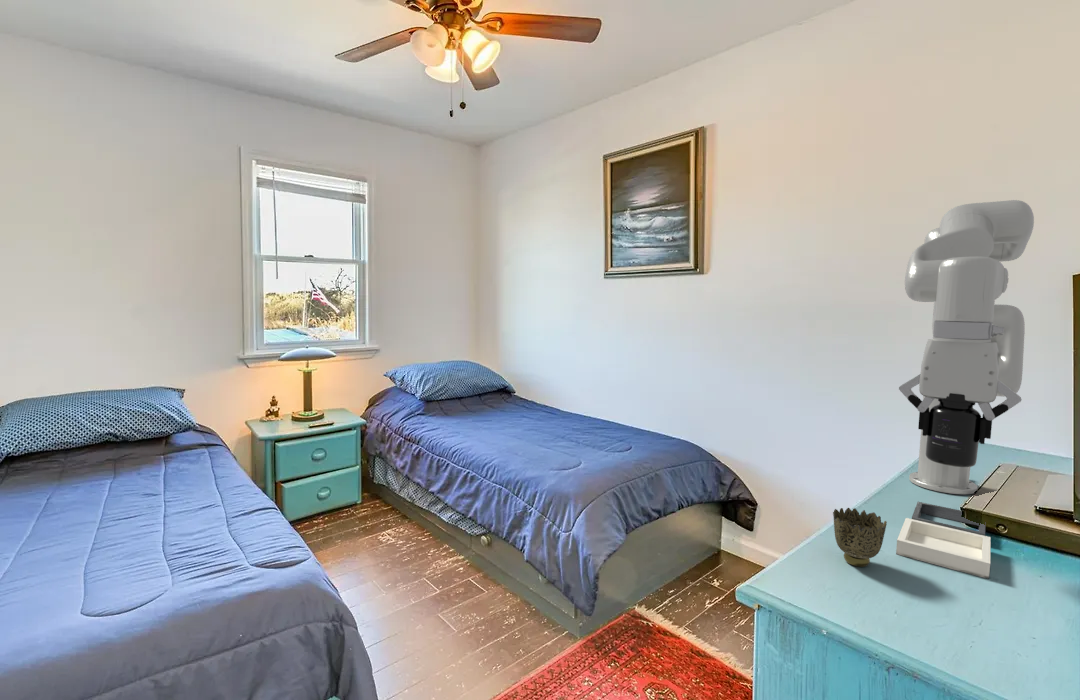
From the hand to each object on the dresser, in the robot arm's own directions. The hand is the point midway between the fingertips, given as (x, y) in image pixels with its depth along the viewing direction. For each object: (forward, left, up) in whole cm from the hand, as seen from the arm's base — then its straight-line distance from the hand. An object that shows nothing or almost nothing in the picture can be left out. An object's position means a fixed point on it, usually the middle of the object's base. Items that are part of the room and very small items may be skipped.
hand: (952, 437), depth 88 cm
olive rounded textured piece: (+15, -11, -20) cm, 27 cm away
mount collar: (-13, 0, -20) cm, 24 cm away
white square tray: (+1, 0, -20) cm, 20 cm away
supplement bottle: (0, 0, -4) cm, 4 cm away
